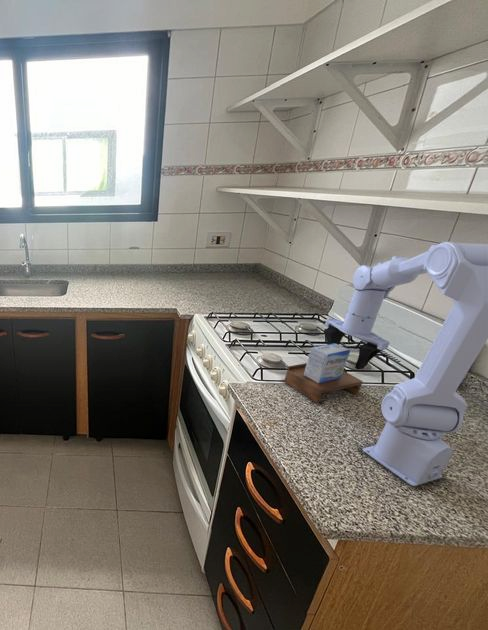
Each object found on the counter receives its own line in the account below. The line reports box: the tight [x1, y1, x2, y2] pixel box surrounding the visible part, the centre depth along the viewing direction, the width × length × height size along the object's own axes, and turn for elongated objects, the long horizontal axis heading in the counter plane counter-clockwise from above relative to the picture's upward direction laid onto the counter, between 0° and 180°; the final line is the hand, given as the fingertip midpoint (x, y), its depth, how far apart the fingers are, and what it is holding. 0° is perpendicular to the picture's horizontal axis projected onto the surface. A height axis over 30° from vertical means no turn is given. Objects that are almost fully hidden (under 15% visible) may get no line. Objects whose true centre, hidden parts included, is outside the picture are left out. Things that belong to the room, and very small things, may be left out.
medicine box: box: [304, 343, 351, 384], centre depth 89 cm, size 8×4×9 cm, turn 107°
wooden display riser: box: [283, 362, 364, 404], centre depth 93 cm, size 10×14×5 cm
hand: (344, 360), depth 91 cm, fingers open, 7 cm apart
